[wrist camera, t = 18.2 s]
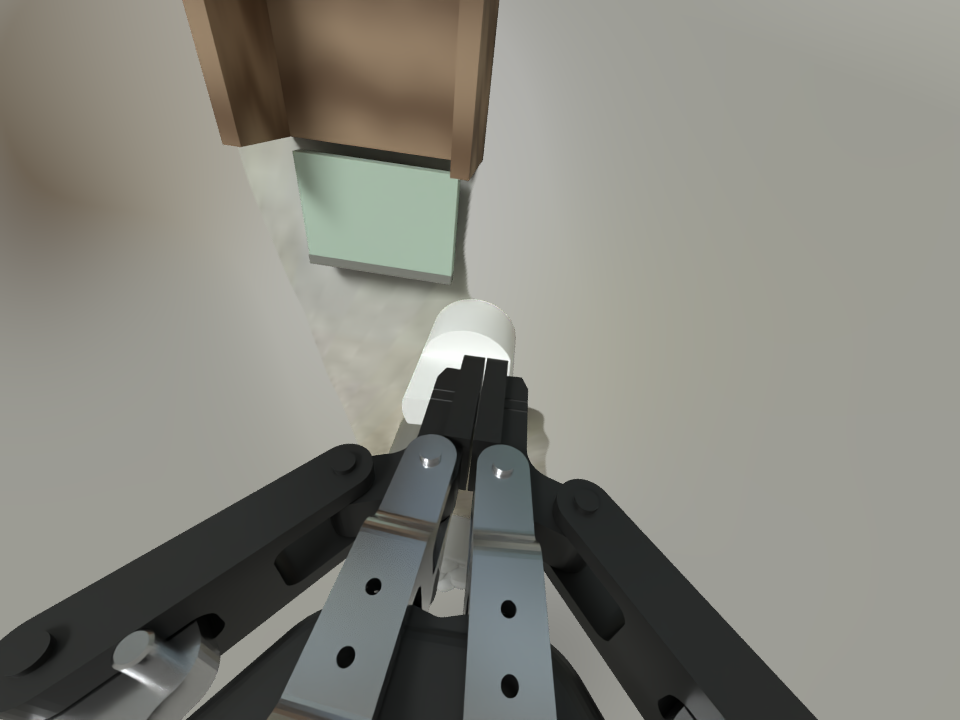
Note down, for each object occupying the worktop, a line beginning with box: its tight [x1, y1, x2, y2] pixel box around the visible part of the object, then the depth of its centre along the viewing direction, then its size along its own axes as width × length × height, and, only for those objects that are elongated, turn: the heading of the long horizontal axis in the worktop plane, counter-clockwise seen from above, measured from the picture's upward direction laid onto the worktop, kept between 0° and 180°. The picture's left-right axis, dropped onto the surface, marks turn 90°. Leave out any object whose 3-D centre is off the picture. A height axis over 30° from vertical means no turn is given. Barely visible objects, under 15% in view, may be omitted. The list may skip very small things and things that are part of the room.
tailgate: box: [293, 149, 460, 285], centre depth 31 cm, size 1×13×9 cm
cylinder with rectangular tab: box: [402, 299, 515, 425], centre depth 35 cm, size 9×9×12 cm
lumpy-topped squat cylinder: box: [437, 515, 470, 592], centre depth 62 cm, size 10×13×9 cm
